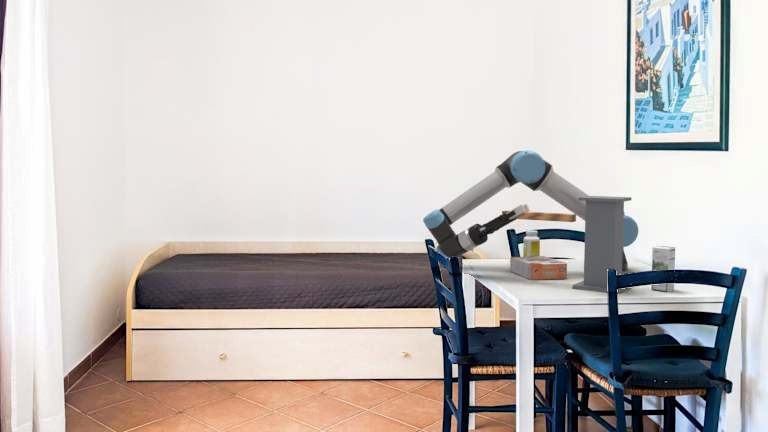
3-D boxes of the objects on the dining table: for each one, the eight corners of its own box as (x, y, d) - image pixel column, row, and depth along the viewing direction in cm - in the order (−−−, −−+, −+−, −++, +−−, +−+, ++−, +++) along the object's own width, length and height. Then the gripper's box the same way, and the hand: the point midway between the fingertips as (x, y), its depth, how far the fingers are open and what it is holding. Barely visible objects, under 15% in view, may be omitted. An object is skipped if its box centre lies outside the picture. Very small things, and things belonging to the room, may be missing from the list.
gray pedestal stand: (572, 288, 263) (574, 197, 261) (586, 282, 275) (588, 195, 272) (620, 293, 254) (622, 199, 252) (632, 287, 266) (635, 197, 263)
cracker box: (544, 254, 302) (568, 262, 282) (543, 270, 303) (567, 279, 283) (509, 255, 299) (531, 264, 279) (509, 271, 300) (531, 280, 280)
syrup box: (674, 289, 261) (676, 246, 260) (667, 292, 257) (669, 248, 256) (657, 287, 265) (659, 245, 264) (650, 290, 261) (652, 246, 260)
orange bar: (501, 218, 281) (502, 211, 281) (506, 217, 284) (506, 210, 284) (572, 222, 267) (572, 214, 267) (575, 221, 270) (576, 214, 270)
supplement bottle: (542, 261, 329) (542, 230, 328) (535, 263, 323) (536, 231, 322) (527, 259, 333) (527, 229, 332) (520, 261, 327) (521, 230, 326)
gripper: (488, 243, 296) (539, 215, 284) (467, 248, 282) (520, 218, 270) (479, 226, 298) (530, 197, 285) (458, 229, 284) (511, 199, 272)
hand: (525, 207), depth 278 cm, fingers closed on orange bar, 3 cm apart
